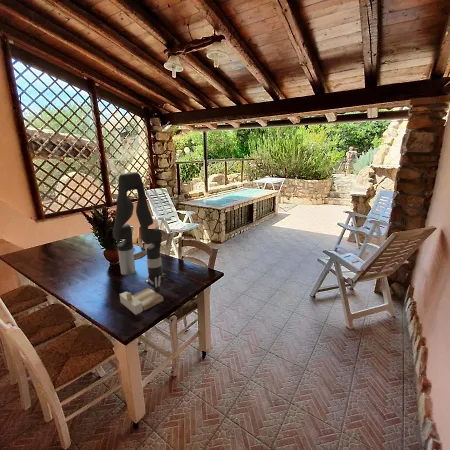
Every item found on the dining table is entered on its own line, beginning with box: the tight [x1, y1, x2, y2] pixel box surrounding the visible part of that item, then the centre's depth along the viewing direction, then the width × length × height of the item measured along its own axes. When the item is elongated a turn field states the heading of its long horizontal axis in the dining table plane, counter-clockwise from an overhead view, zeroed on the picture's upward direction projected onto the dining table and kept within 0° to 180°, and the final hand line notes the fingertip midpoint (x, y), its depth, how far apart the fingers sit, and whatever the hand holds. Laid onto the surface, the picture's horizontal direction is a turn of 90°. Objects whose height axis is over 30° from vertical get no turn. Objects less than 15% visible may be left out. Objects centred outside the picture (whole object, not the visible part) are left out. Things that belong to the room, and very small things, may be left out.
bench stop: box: [119, 291, 144, 316], centre depth 131 cm, size 16×4×8 cm, turn 48°
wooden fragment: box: [134, 251, 147, 260], centre depth 193 cm, size 26×11×1 cm, turn 140°
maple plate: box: [131, 287, 164, 311], centre depth 137 cm, size 14×12×3 cm
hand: (157, 292), depth 143 cm, fingers closed
